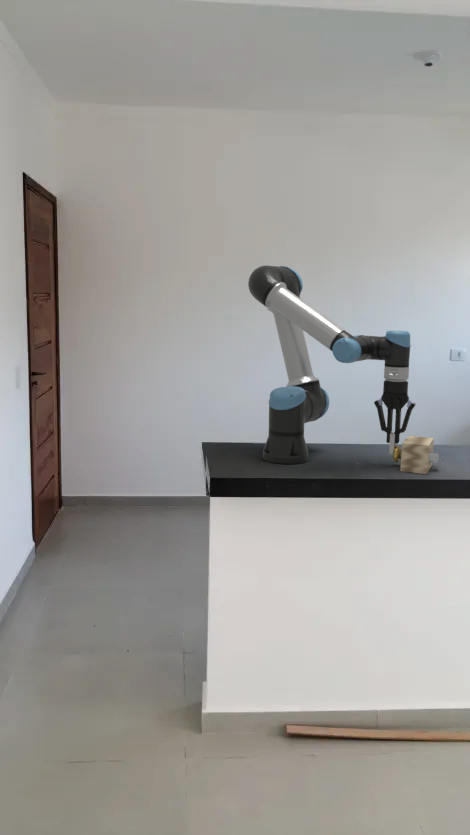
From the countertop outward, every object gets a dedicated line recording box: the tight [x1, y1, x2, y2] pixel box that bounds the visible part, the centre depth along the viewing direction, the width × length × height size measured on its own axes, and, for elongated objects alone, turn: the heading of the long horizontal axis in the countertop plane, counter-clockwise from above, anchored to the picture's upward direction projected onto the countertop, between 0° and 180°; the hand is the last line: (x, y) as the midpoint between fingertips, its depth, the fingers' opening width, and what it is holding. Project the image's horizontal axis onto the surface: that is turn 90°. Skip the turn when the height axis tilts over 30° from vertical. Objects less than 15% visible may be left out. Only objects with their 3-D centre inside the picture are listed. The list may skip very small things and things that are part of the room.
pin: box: [392, 445, 440, 464], centre depth 220 cm, size 14×5×5 cm, turn 67°
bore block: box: [400, 435, 435, 475], centre depth 220 cm, size 8×12×9 cm, turn 157°
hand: (392, 453), depth 223 cm, fingers closed
